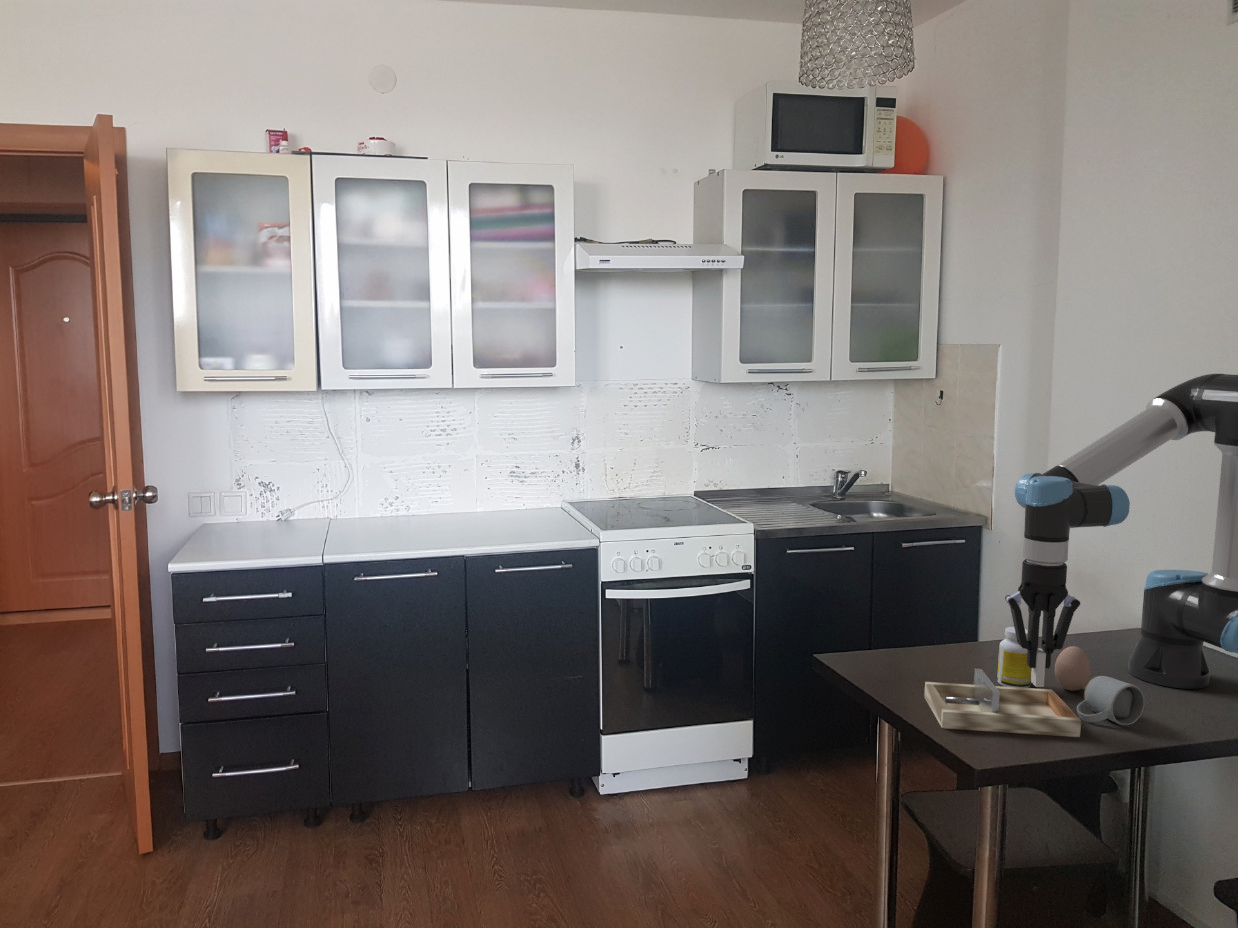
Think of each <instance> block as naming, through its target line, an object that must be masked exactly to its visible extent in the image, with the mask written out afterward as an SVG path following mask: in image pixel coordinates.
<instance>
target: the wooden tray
mask: <svg viewBox="0 0 1238 928" xmlns="http://www.w3.org/2000/svg"><path fill="white" fill-rule="evenodd" d="M995 687H996V688H997V689H998V690H999V692H1000V696H999V708H998V713H993V712H982V711H981V709H980V708H979V706H978V705H966V704H950V703H945V697H958V698H973V688H974V684H966V683H949V682H935V681H934V682H933V681H925V683H924V693H923V694H924V696H923V697H924V700H925V701H926V702H927V704H928V706H929V708H930V709H931V712H932V713H933V714H934V717H935V718H936V720H937V721H938V724H939V725H940V727H941V728H942V729H949V730H950V729H951V730H966V731H967V730H968V731H980V732H981V731H982V732H997V733H999V732H1000V733H1013V734H1027V735H1040V736H1055V737H1056V736H1059V737H1069V738H1071V737H1073V738H1080V737H1081V730H1082V729H1081V728H1082V719H1081V718H1080V717H1079V715H1078V714H1076V713H1075V712H1074V711H1073V710H1072V709H1071V708H1070V707H1069V706H1068V705H1067V703H1065V701H1063V699H1062V698H1061V697H1059V695H1058V694H1057V693H1056V692H1055V691H1054V690H1053V689H1047V688H1032V687H1029V688H1018V687H1004V686H1002V685H1000V686H999V685H998V686H997V685H995ZM1077 715H1078V716H1077Z"/></svg>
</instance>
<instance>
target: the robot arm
mask: <svg viewBox="0 0 1238 928" xmlns="http://www.w3.org/2000/svg"><path fill="white" fill-rule="evenodd" d="M1145 407H1146V408H1145V410H1143V411H1141V412H1140V413H1138V414H1136V415H1135V416H1133V417H1132V418H1130V419H1128V420H1127V421H1125V422H1123V423H1122V424H1121V425H1119V426H1117V427H1116V428H1114V429H1113V430H1111V431H1110V432H1108V433H1107V434H1106V433H1105V435H1103V436H1102V437H1100V438H1098V439H1096V440H1095V441H1093V442H1092V443H1091V444H1089V445H1087V446H1085V447H1084V448H1082V449H1080V450H1079V451H1077V452H1076V453H1075V454H1073V455H1071V456H1070V457H1068V458H1067V459H1064V460H1063V461H1061V462H1060V463H1058V464H1057V465H1055V466H1054V467H1052V468H1050V469H1049V470H1047V471H1045V472H1044V473H1040V472H1029V473H1025V474H1024V475H1022V476H1021V477H1020V478H1019V479H1018V480H1017V482H1016V484H1015V486H1014V497H1015V500H1016V502H1017V504H1019V506H1020V507H1022V508H1023V509H1025V511H1024V533H1023V535H1024V536H1023V547H1022V548H1023V549H1022V552H1023V553H1022V557H1023V558H1024V560H1023V561H1022V566H1021V583H1020V585H1019V587H1018V589H1017V592H1015V593H1013V594H1011V595H1010V594H1007V595H1005V597H1004V599H1005V601H1006V603H1007V604H1008V606H1009V607H1010V612H1011V618H1012V623H1013V627H1014V628H1015V633H1016V638H1017V642H1018V644H1019V645H1020V646H1021V647H1022V648H1025V649H1027V665H1028V666H1029V667H1030V668H1032V672H1031V683H1032V684H1033V686H1035V687H1036V688H1044V687H1045V676H1046V675H1045V674H1046V673H1045V672H1046V669H1050V668H1051V661H1052V654H1054V651H1056V650H1062V649H1063V648H1064V647H1063V646H1064V644H1065V641H1066V638H1067V635H1068V632H1069V629H1070V626H1071V624H1072V619H1073V617H1074V613H1075V612H1076V611H1077V609H1078V608H1079V607H1080V606H1081V601H1080V600H1079V599H1078V598H1076V597H1075V596H1071V595H1070V594H1069V591H1068V589H1067V586H1066V584H1067V573H1068V572H1067V571H1068V565H1067V564H1066V562H1067V561H1068V559H1069V558H1068V557H1069V541H1070V529H1074V528H1075V529H1076V528H1090V527H1091V528H1092V527H1095V528H1096V527H1106V528H1107V527H1109V526H1116V525H1119V524H1122V523H1123V522H1125V520H1126V519H1127V518H1128V516H1129V514H1130V508H1131V507H1130V505H1131V503H1130V499H1129V495H1128V493H1127V492H1126V491H1125V490H1124V489H1123V488H1121V486H1118V485H1115V484H1114V485H1113V484H1109V485H1107V484H1102V483H1104V482H1105V481H1107V480H1108V479H1110V478H1112V477H1114V476H1115V475H1117V474H1118V473H1120V472H1121V471H1123V470H1124V469H1126V468H1127V467H1129V466H1131V465H1132V464H1134V463H1136V462H1137V461H1139V460H1140V459H1142V458H1144V457H1145V456H1147V455H1148V454H1150V453H1152V452H1153V451H1154V450H1156V449H1157V448H1159V447H1161V446H1163V445H1164V444H1166V443H1168V442H1169V441H1178V440H1179V441H1180V440H1182V439H1183V438H1185V437H1186V436H1188V435H1190V434H1193V433H1201V432H1211V433H1214V439H1213V444H1214V446H1215V447H1216V448H1217V449H1218V450H1219V451H1220V452H1221V454H1222V455H1221V464H1220V475H1219V488H1218V498H1217V510H1216V519H1215V520H1216V521H1215V531H1214V542H1213V553H1212V563H1211V565H1212V566H1211V571H1210V572H1209V573H1208V572H1203V571H1198V570H1186V569H1157V570H1153V571H1151V572H1149V573H1148V575H1147V576H1146V580H1145V586H1144V589H1143V600H1142V601H1143V603H1142V613H1141V625H1140V626H1141V627H1140V634H1139V635H1140V636H1139V639H1138V640H1137V642H1136V644H1135V647H1134V648H1133V651H1132V653H1131V655H1130V656H1129V658H1128V664H1127V671H1128V673H1129V674H1130V675H1131V676H1133V677H1135V678H1137V679H1140V680H1142V681H1145V682H1147V683H1151V684H1154V685H1158V686H1164V687H1170V688H1175V689H1185V690H1187V689H1188V690H1189V689H1190V690H1191V689H1194V690H1196V689H1204V688H1206V687H1208V686H1209V684H1210V679H1211V678H1210V676H1211V673H1210V669H1209V665H1208V660H1207V657H1206V653H1205V649H1204V643H1207V644H1209V645H1212V646H1215V647H1217V648H1220V649H1222V650H1224V651H1225V652H1228V653H1235V654H1237V655H1238V374H1228V373H1210V374H1204V375H1200V376H1195V377H1194V378H1192V379H1189V380H1185V381H1184V382H1181V383H1179V384H1177V385H1175V386H1174V387H1170V388H1169V389H1167V390H1166V391H1164V392H1162V393H1161V394H1159V395H1157V396H1156V397H1154V398H1152V399H1151V400H1149V402H1147V405H1146V406H1145ZM1100 484H1101V485H1100ZM1021 599H1022V600H1023V601H1024V603H1025V604H1026V606H1027V608H1028V609H1027V610H1028V621H1027V622H1028V624H1027V630H1028V636H1027V638H1026V633H1025V629H1026V628H1025V622H1024V618H1023V614H1022V610H1021V608H1020V606H1021V605H1022V601H1021ZM1062 602H1063V603H1062ZM1061 604H1063V607H1062V609H1061V611H1060V615H1059V619H1058V621H1057V625H1056V627H1055V617H1056V615H1057V614H1056V612H1057V611H1056V610H1057V609H1058V608H1059V606H1060V605H1061ZM1041 616H1042V627H1041V644H1040V645H1041V647H1040V648H1039V635H1040V622H1041V621H1040V620H1041V618H1040V617H1041ZM1054 628H1055V630H1054Z"/></svg>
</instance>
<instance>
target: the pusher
mask: <svg viewBox="0 0 1238 928" xmlns="http://www.w3.org/2000/svg"><path fill="white" fill-rule="evenodd" d="M973 675H974V676H973V677H974V678H973V685H974V688H973V698H958V697H945V703H950V704H966V705H978V706H979V708H980V709H981V711H982V712H993V713H998V708H999V696H1000V692H999V690H998V689H997V688H996V687H995V686H996V685H995V684H994V683H993V682H992V680H991V679H990V678H989V676H987V674H986V672H985V671H983V669H982V668H974V674H973Z"/></svg>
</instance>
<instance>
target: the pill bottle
mask: <svg viewBox="0 0 1238 928" xmlns="http://www.w3.org/2000/svg"><path fill="white" fill-rule="evenodd" d="M1025 633H1026V638H1027V636H1028V628H1027V629H1026V628H1025ZM1004 636H1005V638H1004V639H1003V640H1002V641H1000V643H999V646H998V647H999V648H998V649H999V650H998V661H997V676H996V681H997V683H998V684H999V685H1000V686H1002V687H1018V688H1031V683H1032V682H1031V672H1032V668H1030V667H1029V666H1028V665H1027V649H1025V648H1022V647H1021V646H1020V645H1019V644H1018V642H1017V638H1016V633H1015V628H1014V626H1007V627H1005V631H1004Z"/></svg>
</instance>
